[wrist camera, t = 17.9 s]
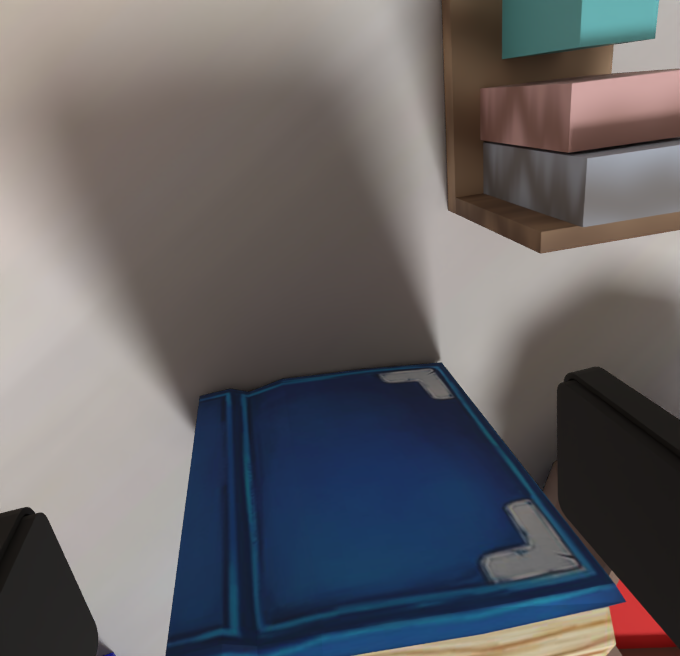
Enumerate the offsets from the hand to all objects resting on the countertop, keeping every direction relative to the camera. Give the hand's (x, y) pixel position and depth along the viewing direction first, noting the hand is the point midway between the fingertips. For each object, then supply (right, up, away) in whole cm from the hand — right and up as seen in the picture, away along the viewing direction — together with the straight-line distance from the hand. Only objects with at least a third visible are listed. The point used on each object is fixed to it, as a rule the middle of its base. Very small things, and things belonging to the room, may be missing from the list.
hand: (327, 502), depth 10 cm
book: (-2, -3, +37) cm, 37 cm away
